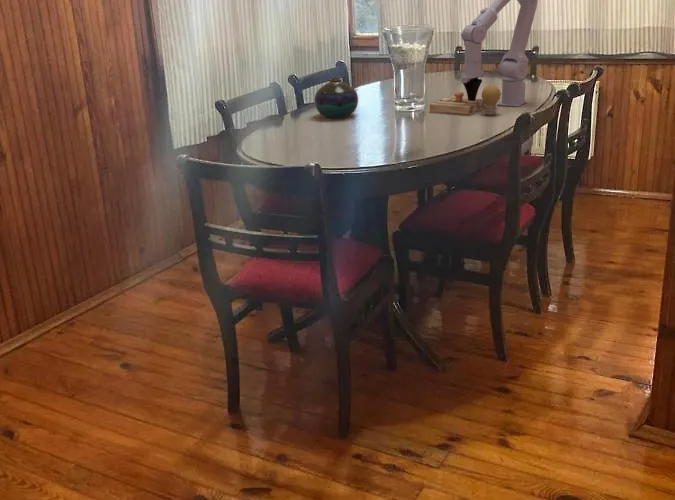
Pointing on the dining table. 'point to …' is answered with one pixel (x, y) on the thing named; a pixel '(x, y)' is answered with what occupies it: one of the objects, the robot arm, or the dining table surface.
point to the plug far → (446, 99)
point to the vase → (336, 99)
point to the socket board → (457, 106)
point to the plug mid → (458, 96)
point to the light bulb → (491, 98)
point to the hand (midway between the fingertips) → (471, 100)
